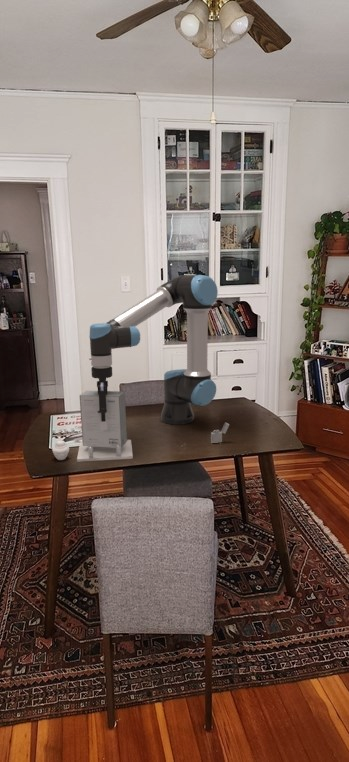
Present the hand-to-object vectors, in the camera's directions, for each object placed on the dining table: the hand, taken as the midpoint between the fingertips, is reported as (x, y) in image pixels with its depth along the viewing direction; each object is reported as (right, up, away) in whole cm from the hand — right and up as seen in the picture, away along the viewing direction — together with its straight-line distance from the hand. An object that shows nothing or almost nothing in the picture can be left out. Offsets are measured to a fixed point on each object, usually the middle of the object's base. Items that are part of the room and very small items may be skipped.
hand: (104, 425), depth 184 cm
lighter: (+44, -8, +10) cm, 46 cm away
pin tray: (0, -10, +2) cm, 11 cm away
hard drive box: (0, -7, +2) cm, 8 cm away
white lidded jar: (-15, -12, -4) cm, 20 cm away
